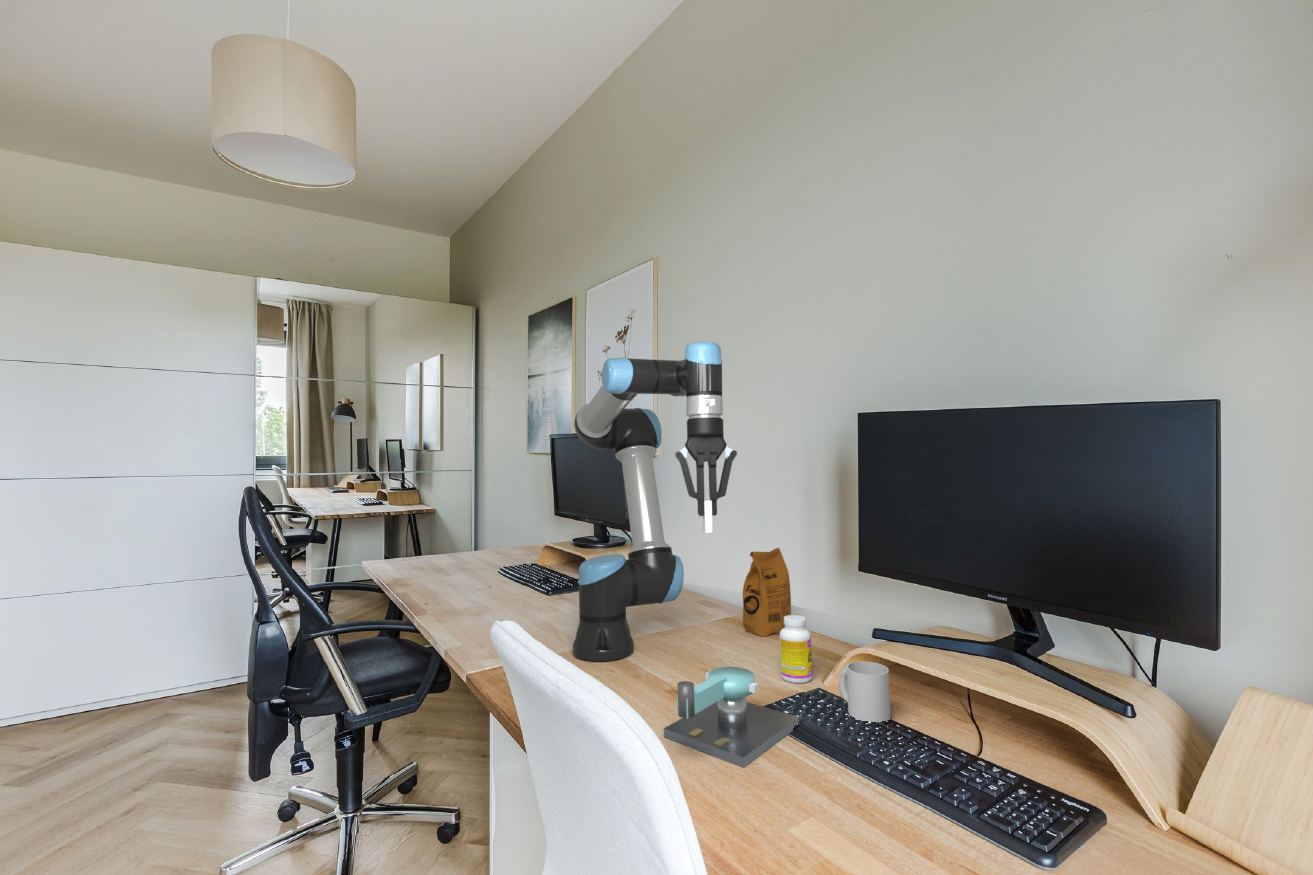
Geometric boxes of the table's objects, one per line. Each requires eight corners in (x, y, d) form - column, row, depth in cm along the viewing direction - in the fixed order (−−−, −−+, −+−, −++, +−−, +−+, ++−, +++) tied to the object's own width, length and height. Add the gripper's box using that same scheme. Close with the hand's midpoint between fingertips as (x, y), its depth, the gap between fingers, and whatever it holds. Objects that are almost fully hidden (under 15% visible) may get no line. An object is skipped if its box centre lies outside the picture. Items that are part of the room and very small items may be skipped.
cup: (873, 730, 101) (871, 678, 101) (827, 710, 110) (826, 662, 110) (899, 720, 105) (897, 669, 105) (853, 701, 113) (851, 654, 114)
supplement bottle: (813, 685, 122) (811, 622, 122) (780, 683, 123) (779, 621, 124) (811, 673, 128) (809, 614, 129) (780, 672, 130) (778, 613, 130)
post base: (663, 737, 100) (663, 695, 101) (724, 702, 114) (723, 666, 114) (743, 767, 90) (742, 721, 90) (799, 725, 104) (798, 685, 104)
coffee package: (738, 630, 162) (735, 549, 163) (771, 622, 169) (769, 545, 170) (762, 638, 154) (759, 554, 155) (796, 630, 160) (794, 549, 161)
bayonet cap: (720, 675, 109) (719, 649, 109) (768, 688, 102) (767, 660, 102) (656, 709, 95) (656, 679, 95) (707, 726, 88) (706, 694, 88)
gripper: (675, 416, 118) (678, 535, 117) (739, 415, 118) (743, 533, 118) (671, 419, 125) (674, 530, 124) (732, 418, 126) (735, 528, 125)
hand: (707, 531), depth 121 cm, fingers closed
